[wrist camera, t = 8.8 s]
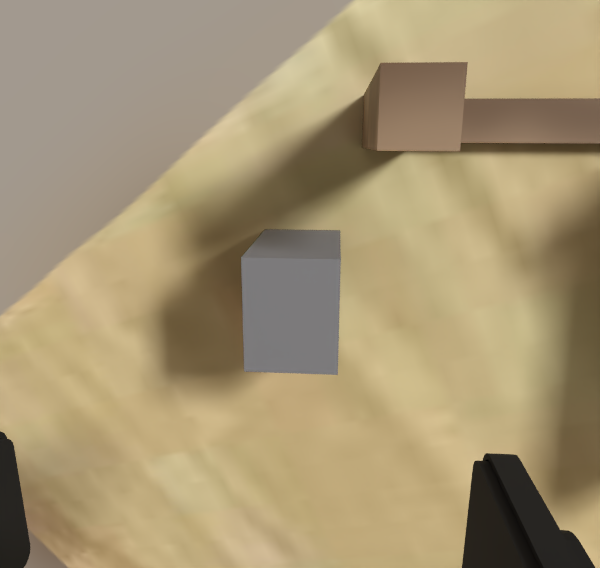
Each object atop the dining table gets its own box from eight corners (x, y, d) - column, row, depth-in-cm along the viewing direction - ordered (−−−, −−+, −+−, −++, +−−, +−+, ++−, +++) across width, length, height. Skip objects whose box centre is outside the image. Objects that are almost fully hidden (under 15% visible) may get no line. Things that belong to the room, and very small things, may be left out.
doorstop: (337, 319, 28) (337, 374, 22) (266, 317, 29) (244, 371, 22) (340, 230, 27) (340, 259, 20) (265, 229, 27) (240, 257, 21)
